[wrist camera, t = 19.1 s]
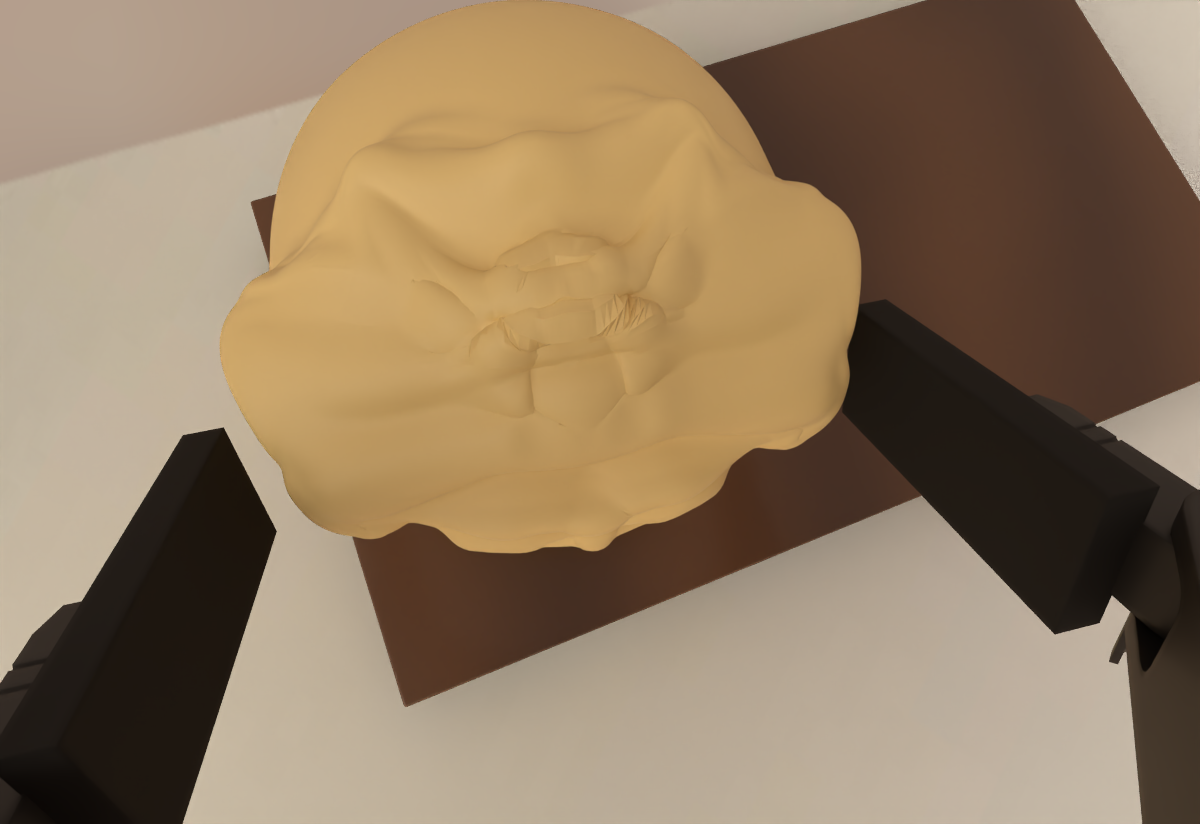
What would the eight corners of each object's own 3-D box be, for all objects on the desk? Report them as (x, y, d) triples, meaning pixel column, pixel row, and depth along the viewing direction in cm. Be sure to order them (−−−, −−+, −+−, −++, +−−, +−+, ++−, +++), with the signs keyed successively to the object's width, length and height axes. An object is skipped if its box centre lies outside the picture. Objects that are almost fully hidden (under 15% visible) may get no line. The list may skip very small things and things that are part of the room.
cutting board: (415, 697, 19) (404, 708, 18) (269, 224, 22) (249, 200, 21) (1244, 358, 23) (1290, 344, 22) (1025, -5, 26) (1052, -39, 25)
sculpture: (386, 599, 18) (157, 645, 8) (329, 214, 21) (96, -138, 10) (777, 511, 20) (1026, 450, 9) (679, 156, 22) (785, -213, 12)
